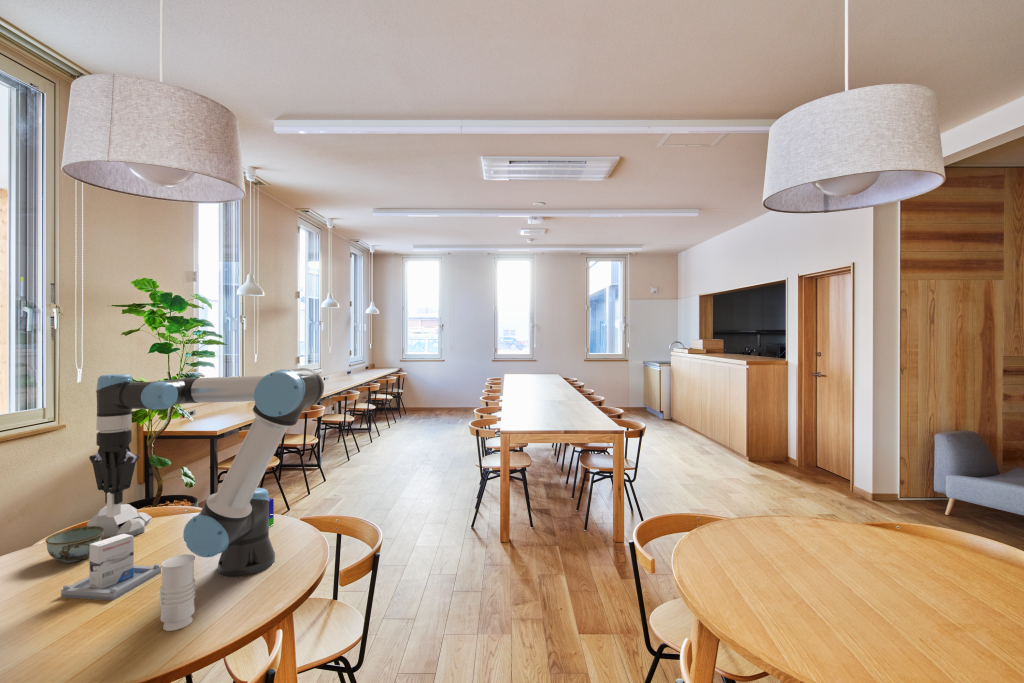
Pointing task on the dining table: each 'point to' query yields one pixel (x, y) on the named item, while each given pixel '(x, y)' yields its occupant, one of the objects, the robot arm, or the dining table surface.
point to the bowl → (73, 543)
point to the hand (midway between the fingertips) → (113, 515)
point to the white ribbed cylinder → (177, 592)
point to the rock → (121, 521)
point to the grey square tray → (113, 591)
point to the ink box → (111, 561)
